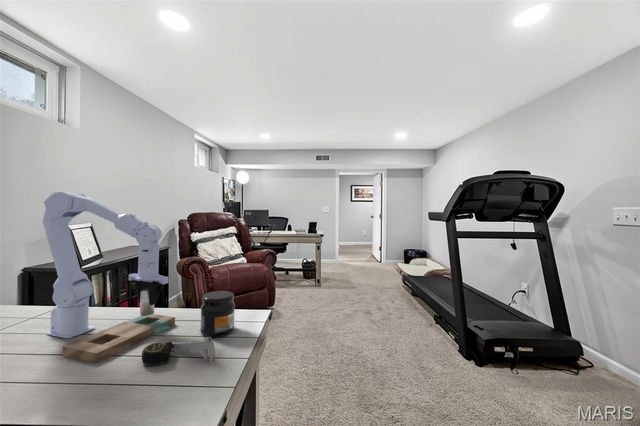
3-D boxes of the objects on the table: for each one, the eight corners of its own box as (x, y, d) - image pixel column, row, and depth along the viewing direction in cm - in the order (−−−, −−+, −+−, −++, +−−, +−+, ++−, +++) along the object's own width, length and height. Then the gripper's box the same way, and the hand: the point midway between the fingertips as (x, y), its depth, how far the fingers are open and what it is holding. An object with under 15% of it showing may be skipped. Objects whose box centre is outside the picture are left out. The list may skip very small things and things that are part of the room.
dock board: (62, 355, 74) (62, 346, 74) (147, 320, 99) (147, 312, 99) (96, 363, 71) (96, 353, 71) (174, 324, 96) (175, 317, 96)
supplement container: (239, 333, 91) (240, 296, 91) (205, 341, 84) (206, 302, 84) (228, 322, 99) (228, 288, 99) (196, 329, 93) (197, 293, 93)
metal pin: (137, 315, 91) (137, 290, 91) (147, 310, 95) (148, 287, 95) (146, 316, 90) (147, 291, 90) (157, 312, 94) (157, 288, 94)
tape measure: (168, 366, 71) (169, 351, 71) (137, 370, 69) (138, 355, 69) (173, 353, 78) (174, 339, 77) (145, 356, 75) (146, 342, 75)
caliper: (214, 361, 74) (215, 337, 74) (211, 363, 73) (212, 338, 73) (157, 346, 81) (157, 324, 81) (154, 348, 80) (154, 325, 80)
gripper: (120, 262, 91) (119, 304, 91) (156, 266, 87) (155, 310, 87) (139, 259, 97) (138, 298, 97) (173, 262, 93) (172, 303, 93)
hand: (147, 303), depth 92 cm, fingers closed on metal pin, 4 cm apart
